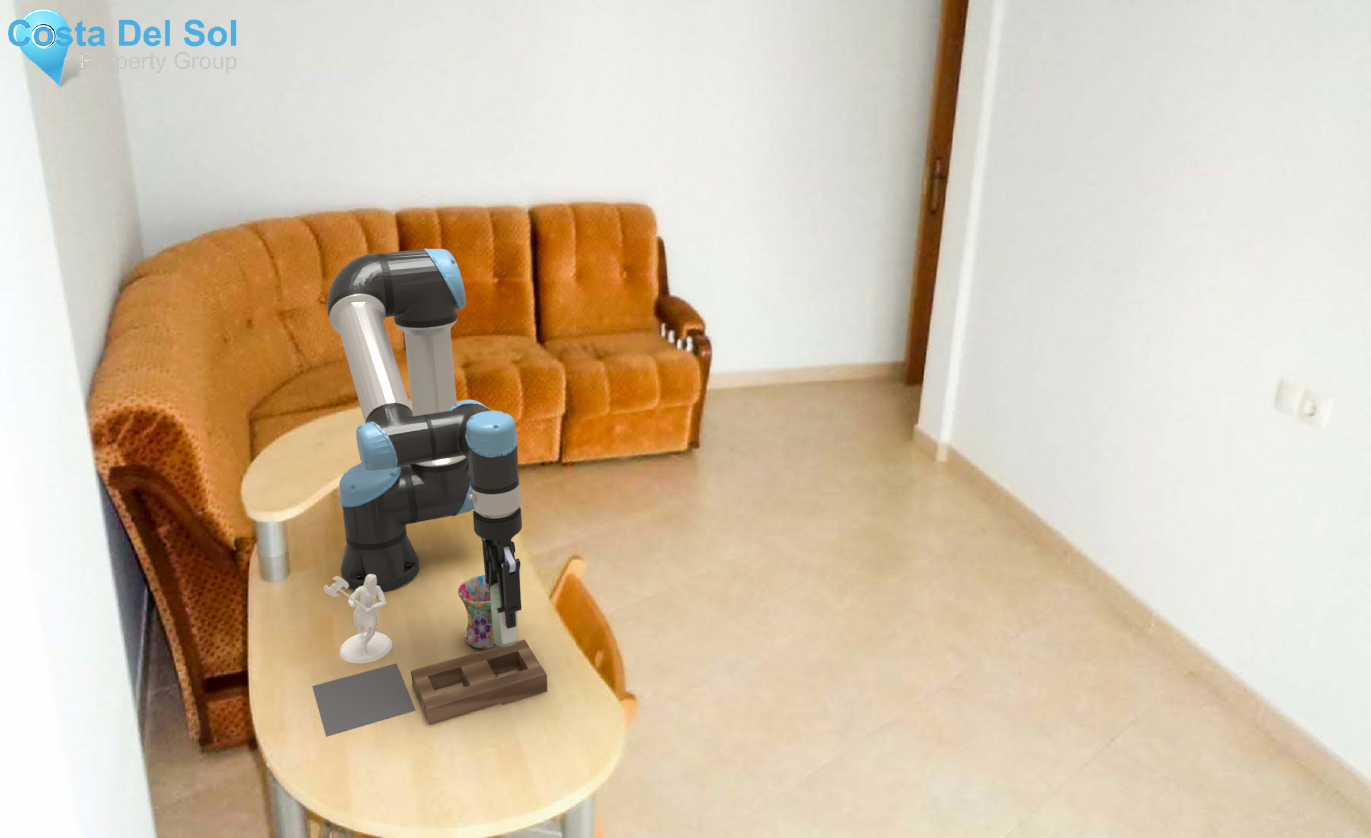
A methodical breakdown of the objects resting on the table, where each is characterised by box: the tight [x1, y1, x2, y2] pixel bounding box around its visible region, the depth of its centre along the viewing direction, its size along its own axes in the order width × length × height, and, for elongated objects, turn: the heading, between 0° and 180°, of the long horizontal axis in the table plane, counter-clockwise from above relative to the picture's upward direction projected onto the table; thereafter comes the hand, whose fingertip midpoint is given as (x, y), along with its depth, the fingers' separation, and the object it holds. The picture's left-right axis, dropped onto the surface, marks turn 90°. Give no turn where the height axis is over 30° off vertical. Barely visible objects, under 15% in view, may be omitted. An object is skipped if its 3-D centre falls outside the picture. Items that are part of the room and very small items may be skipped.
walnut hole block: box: [410, 639, 548, 726], centre depth 166 cm, size 11×20×4 cm, turn 118°
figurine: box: [323, 574, 393, 664], centre depth 174 cm, size 10×10×18 cm
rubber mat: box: [312, 662, 417, 737], centre depth 164 cm, size 14×14×1 cm
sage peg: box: [490, 583, 519, 647], centre depth 164 cm, size 4×4×10 cm
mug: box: [457, 574, 498, 650], centre depth 180 cm, size 12×9×11 cm
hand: (505, 633), depth 165 cm, fingers closed on sage peg, 4 cm apart
